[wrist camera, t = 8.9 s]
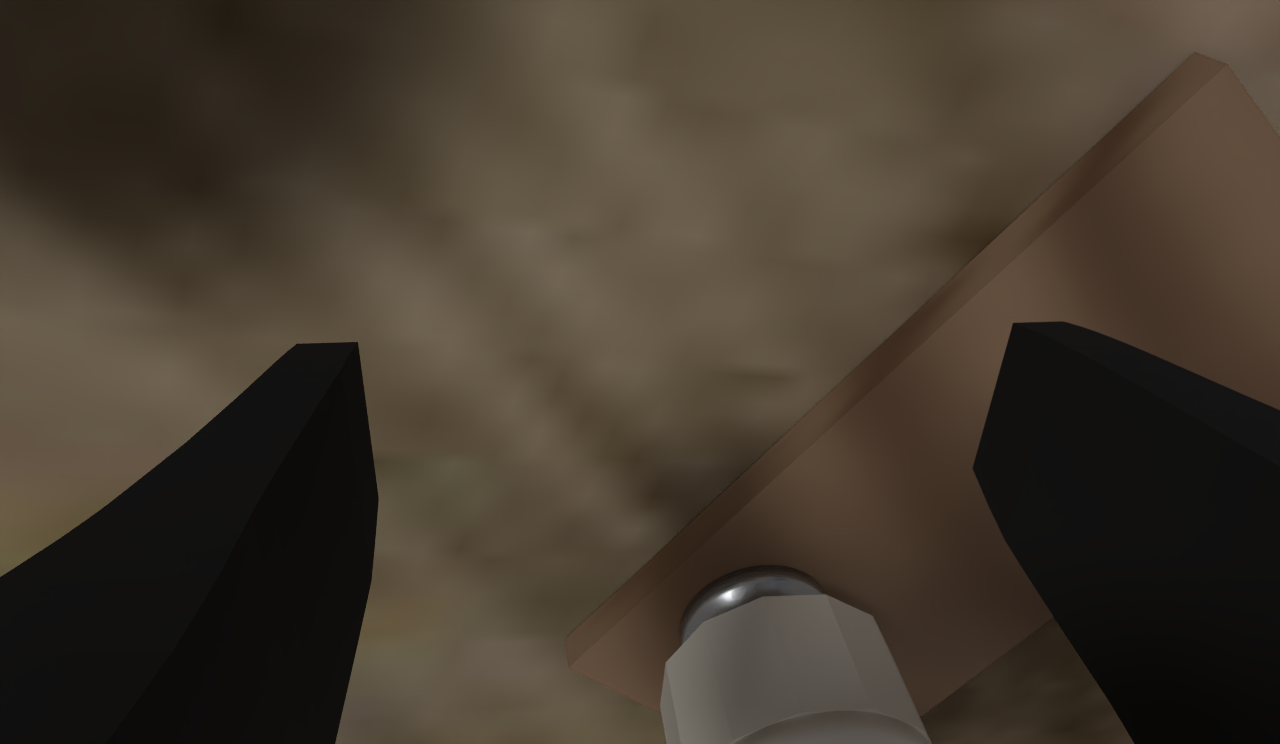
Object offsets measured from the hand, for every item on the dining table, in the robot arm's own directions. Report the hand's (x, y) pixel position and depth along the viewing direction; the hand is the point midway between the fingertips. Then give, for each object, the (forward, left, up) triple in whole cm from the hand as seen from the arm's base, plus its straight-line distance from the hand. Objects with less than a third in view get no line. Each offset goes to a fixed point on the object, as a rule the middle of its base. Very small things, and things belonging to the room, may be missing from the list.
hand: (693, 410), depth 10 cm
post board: (+1, +13, -9) cm, 16 cm away
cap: (+7, +11, -7) cm, 15 cm away
